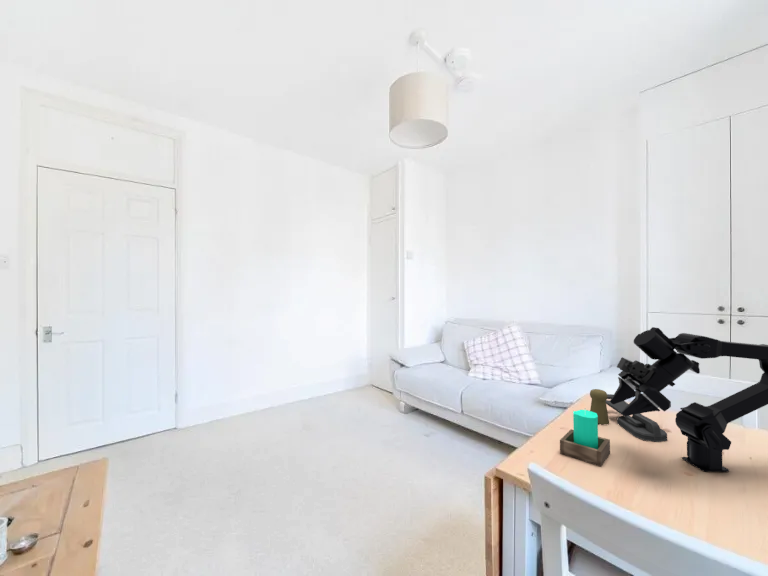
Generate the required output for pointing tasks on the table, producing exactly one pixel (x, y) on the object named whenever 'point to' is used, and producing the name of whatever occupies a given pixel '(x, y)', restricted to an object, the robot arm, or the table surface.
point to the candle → (585, 428)
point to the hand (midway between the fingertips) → (616, 408)
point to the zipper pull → (638, 424)
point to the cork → (599, 405)
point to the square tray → (585, 449)
